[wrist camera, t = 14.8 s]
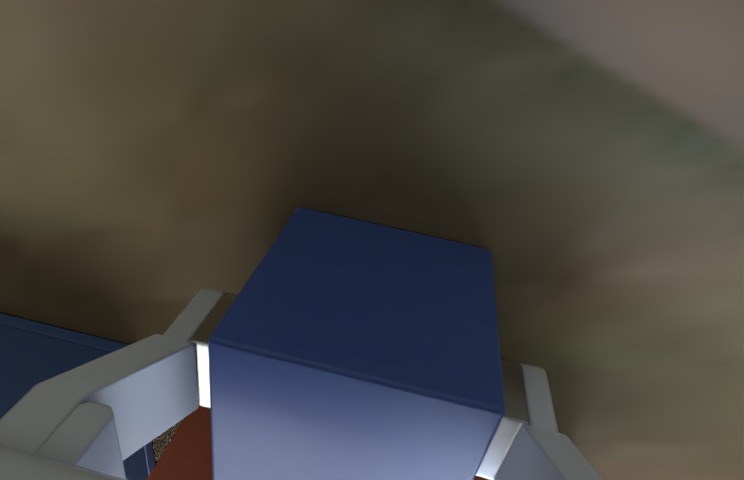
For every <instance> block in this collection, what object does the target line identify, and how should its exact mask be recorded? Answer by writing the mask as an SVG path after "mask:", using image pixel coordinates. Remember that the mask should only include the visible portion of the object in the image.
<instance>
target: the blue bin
mask: <svg viewBox="0 0 744 480" xmlns="http://www.w3.org/2000/svg"><path fill="white" fill-rule="evenodd" d="M126 346H128V345H127V344H123V343H119V342H115V341H111V340H106V339H102V338H98V337H94V336H90V335H86V334H82V333H78V332H74V331H70V330H66V329H62V328H58V327H54V326H50V325H46V324H42V323H38V322H34V321H30V320H26V319H22V318H18V317H14V316H10V315H6V314H2V313H0V419H1V418H2V417H3V416H4V415H5V414H6V413H7V412H8V411H9V410H10V409H11V408H12V407H13V406H14V405H15V404H16V403H17V402H18V401H19V400H20V399H21V398H22V397H23V396H24V395H25V394H26V393H28V392H29V391H30V390H31V389H32V388H33V387H34V386H35V385H36V384H38V383H41V382H43V381H45V380H48V379H50V378H52V377H55V376H57V375H60V374H62V373H64V372H67V371H69V370H71V369H74V368H76V367H78V366H81V365H83V364H86V363H88V362H90V361H93V360H95V359H97V358H100V357H102V356H104V355H107V354H109V353H112V352H114V351H116V350H119V349H121V348H123V347H126ZM123 465H124V470H125V475H126V479H128V480H147V478H148V477H149V475H150V473H151V472H152V470H153V469H154V467H155V462H154V455H153V448H152V441H151V442H149V443H148V444H146V445H145V446H143V447H142V448H140V449H139V450H138V451H136V452H135V453H133V454H132V455H130V456H129V457H128V458H126V459H125V460H123Z"/></svg>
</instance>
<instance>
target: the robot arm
mask: <svg viewBox="0 0 744 480" xmlns="http://www.w3.org/2000/svg"><path fill="white" fill-rule="evenodd" d="M237 296H238V295H234V294H230V293H224V292H220V291H217V290H213V289H209V288H203V289H201V290H199V291H198V292H197V294H196V295H195V296H194V297H193V299H192V300H191V301H190V302H189V303H188V305H187V306H186V307H185V308H184V310H183V311H182V312H181V313H180V315H179V316H178V317H177V318H176V319H175V321H174V322H173V323H172V324H171V326H170V327H169V328H168V329H167V331H166V332H165V333H164V334H163V335H160V334H154V335H152V336H149V337H147V338H145V339H142V340H140V341H138V342H135V343H133V344H130V345H128V346H126V347H123V348H121V349H119V350H116V351H114V352H112V353H109V354H107V355H104V356H102V357H100V358H97V359H95V360H93V361H90V362H88V363H86V364H83V365H81V366H78V367H76V368H74V369H71V370H69V371H67V372H64V373H62V374H60V375H57V376H55V377H52V378H50V379H48V380H45V381H43V382H41V383H38V384H36V385H35V386H34V387H33V388H32V389H31V390H30V391H29V392H28V393H26V394H25V395H24V396H23V397H22V398H21V399H20V400H19V401H18V402H17V403H16V404H15V405H14V406H13V407H12V408H11V409H10V410H9V411H8V412H7V413H6V414H5V415H4V416H3V417H2V418H1V419H0V480H128V479H126V475H125V470H124V465H123V460H125V459H126V458H128V457H129V456H130V455H132V454H133V453H135V452H136V451H138V450H139V449H140V448H142V447H143V446H145V445H146V444H148V443H149V442H151V441H152V440H153V439H155V438H156V437H158V436H159V435H161V434H162V433H163V432H165V431H166V430H168V429H169V428H171V427H172V426H173V425H175V424H176V423H178V422H179V421H181V420H182V419H184V418H185V417H186V416H188V415H189V414H191V413H192V412H194V411H195V410H196V409H198V406H202V407H206V408H210V384H209V355H208V338H209V337H210V335H211V334H212V332H213V331H214V329H215V328H216V326H217V325H218V323H219V322H220V320H221V319H222V318H223V316H224V315H225V313H226V312H227V310H228V309H229V307H230V306H231V304H232V303H233V301H234V300H235V298H236V297H237ZM501 365H502V376H503V388H504V399H505V410H506V412H505V414H504V416H503V418H502V420H501V423H500V425H499V427H498V429H497V431H496V433H495V435H494V437H493V440H492V442H491V444H490V446H489V448H488V450H487V452H486V454H485V457H484V459H483V461H482V463H481V465H480V467H479V469H478V472H477V474H476V476H478V477H482V478H485V479H489V480H604V479H603V478H602V477H601V476H600V474H599V473H598V472H597V471H596V470H595V469H594V467H593V466H592V465H591V464H590V463H589V461H588V460H587V459H586V458H585V457H584V455H583V454H582V453H581V452H580V451H579V450H578V448H577V447H576V446H575V445H574V444H573V442H572V441H571V440H570V439H569V438H568V436H567V435H566V434H562V433H558V428H557V423H556V418H555V413H554V408H553V404H552V399H551V394H550V389H549V384H548V379H547V374H546V371H545V370H544V368H542V367H537V366H532V365H528V364H523V363H517V362H513V361H509V360H504V359H501Z"/></svg>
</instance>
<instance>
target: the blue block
mask: <svg viewBox="0 0 744 480" xmlns="http://www.w3.org/2000/svg"><path fill="white" fill-rule="evenodd" d="M208 355H209V384H210V414H211V443H212V472H213V480H474V478H475V476H476V474H477V472H478V469H479V467H480V465H481V463H482V461H483V459H484V457H485V454H486V452H487V450H488V448H489V446H490V444H491V442H492V440H493V437H494V435H495V433H496V431H497V429H498V427H499V425H500V423H501V420H502V418H503V416H504V414H505V412H506V410H505V399H504V388H503V376H502V365H501V354H500V343H499V332H498V321H497V309H496V298H495V287H494V276H493V265H492V254H491V251H490V250H489V249H485V248H480V247H476V246H471V245H467V244H462V243H458V242H453V241H449V240H445V239H440V238H436V237H431V236H427V235H422V234H418V233H413V232H409V231H404V230H400V229H396V228H391V227H387V226H382V225H378V224H373V223H369V222H364V221H360V220H355V219H351V218H346V217H342V216H338V215H333V214H329V213H324V212H320V211H315V210H311V209H306V208H302V207H298V208H297V209H296V210H295V212H294V213H293V215H292V216H291V218H290V219H289V221H288V222H287V224H286V225H285V226H284V228H283V229H282V231H281V232H280V234H279V235H278V237H277V238H276V240H275V241H274V243H273V244H272V246H271V247H270V248H269V250H268V251H267V253H266V254H265V256H264V257H263V259H262V260H261V262H260V263H259V265H258V266H257V268H256V269H255V271H254V272H253V273H252V275H251V276H250V278H249V279H248V281H247V282H246V284H245V285H244V287H243V288H242V290H241V291H240V293H239V294H238V296H237V297H236V298H235V300H234V301H233V303H232V304H231V306H230V307H229V309H228V310H227V312H226V313H225V315H224V316H223V318H222V319H221V320H220V322H219V323H218V325H217V326H216V328H215V329H214V331H213V332H212V334H211V335H210V337H209V338H208Z"/></svg>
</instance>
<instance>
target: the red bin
mask: <svg viewBox="0 0 744 480" xmlns="http://www.w3.org/2000/svg"><path fill="white" fill-rule="evenodd" d="M147 480H213V472H212V443H211V414H210V408H206V407H202V406H198V409H196V410H195V411H194V412H192V413H191V414H189V415H188V416H186V417H185V418H184V420H183V421H182V423H181V425H180V426H179V428H178V429H177V431H176V433H175V434H174V436H173V438H172V439H171V441H170V442H169V444H168V446H167V447H166V449H165V451H164V452H163V454H162V455H161V457H160V459H159V460H158V462H157V464H156V465H155V467H154V469H153V470H152V472H151V473H150V475H149V477H148V478H147ZM474 480H489V479H485V478H482V477H478V476H475V478H474Z"/></svg>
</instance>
